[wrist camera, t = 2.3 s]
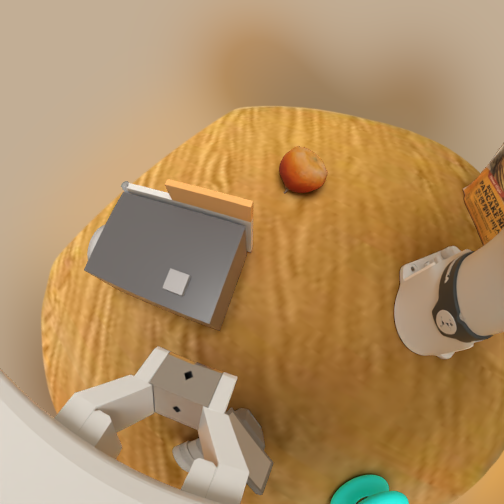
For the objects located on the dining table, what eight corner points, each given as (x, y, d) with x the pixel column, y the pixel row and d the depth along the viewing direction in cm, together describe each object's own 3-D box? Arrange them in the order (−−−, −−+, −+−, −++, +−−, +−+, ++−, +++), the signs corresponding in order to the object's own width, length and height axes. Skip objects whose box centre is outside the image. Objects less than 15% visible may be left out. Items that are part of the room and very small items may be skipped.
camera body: (246, 255, 42) (245, 223, 32) (219, 330, 38) (208, 323, 28) (134, 219, 44) (108, 185, 34) (105, 283, 40) (68, 262, 30)
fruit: (262, 164, 46) (289, 134, 40) (296, 172, 51) (323, 146, 45) (274, 202, 44) (305, 173, 37) (309, 207, 48) (340, 183, 42)
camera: (170, 429, 32) (130, 463, 18) (238, 394, 35) (230, 419, 21) (203, 472, 30) (181, 523, 16) (271, 439, 32) (282, 484, 18)
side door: (253, 246, 42) (253, 199, 29) (250, 253, 41) (250, 209, 29) (146, 213, 44) (114, 165, 31) (142, 219, 44) (110, 173, 31)
